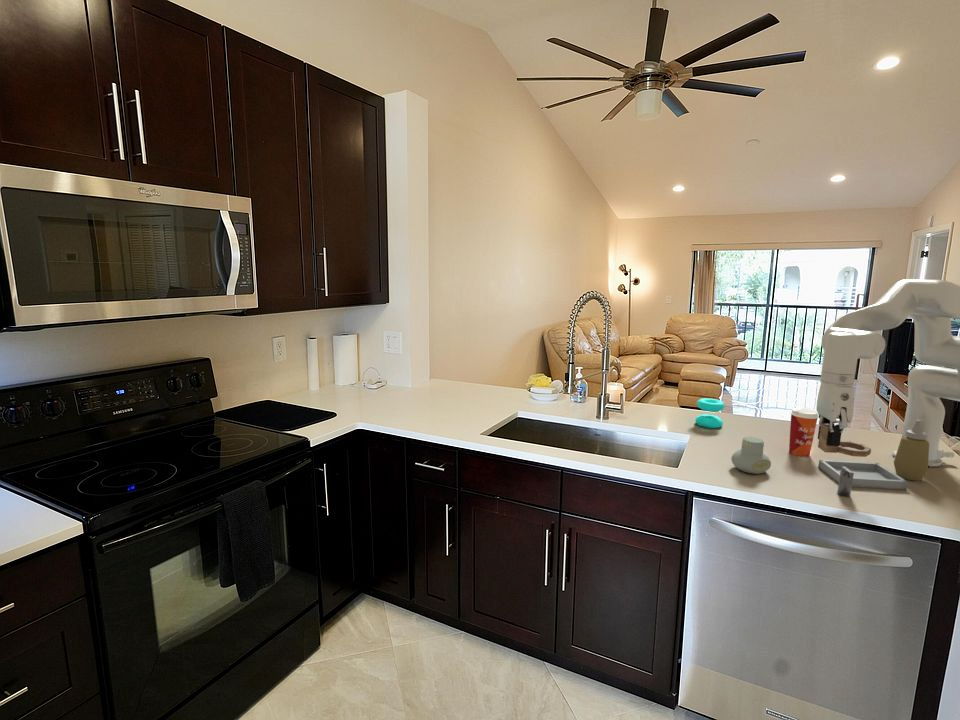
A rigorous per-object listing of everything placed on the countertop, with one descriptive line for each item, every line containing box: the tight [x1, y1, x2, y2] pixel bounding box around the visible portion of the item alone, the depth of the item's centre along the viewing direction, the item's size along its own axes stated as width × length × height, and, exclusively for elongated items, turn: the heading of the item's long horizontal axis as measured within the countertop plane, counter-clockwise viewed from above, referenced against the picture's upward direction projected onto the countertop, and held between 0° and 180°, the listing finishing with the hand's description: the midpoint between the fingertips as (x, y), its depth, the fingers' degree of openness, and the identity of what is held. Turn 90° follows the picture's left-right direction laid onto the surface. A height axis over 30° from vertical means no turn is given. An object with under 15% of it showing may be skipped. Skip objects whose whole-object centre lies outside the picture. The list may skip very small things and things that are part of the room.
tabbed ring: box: [817, 423, 872, 458], centre depth 143 cm, size 12×8×7 cm
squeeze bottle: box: [893, 420, 929, 482], centre depth 156 cm, size 8×8×18 cm
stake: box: [836, 466, 854, 498], centre depth 145 cm, size 3×4×7 cm
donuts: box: [695, 397, 726, 429], centre depth 204 cm, size 10×10×10 cm
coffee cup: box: [788, 407, 819, 457], centre depth 175 cm, size 8×8×15 cm
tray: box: [818, 459, 909, 491], centre depth 156 cm, size 17×14×2 cm
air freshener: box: [731, 436, 772, 475], centre depth 161 cm, size 11×8×10 cm
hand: (828, 442), depth 143 cm, fingers closed on tabbed ring, 3 cm apart
